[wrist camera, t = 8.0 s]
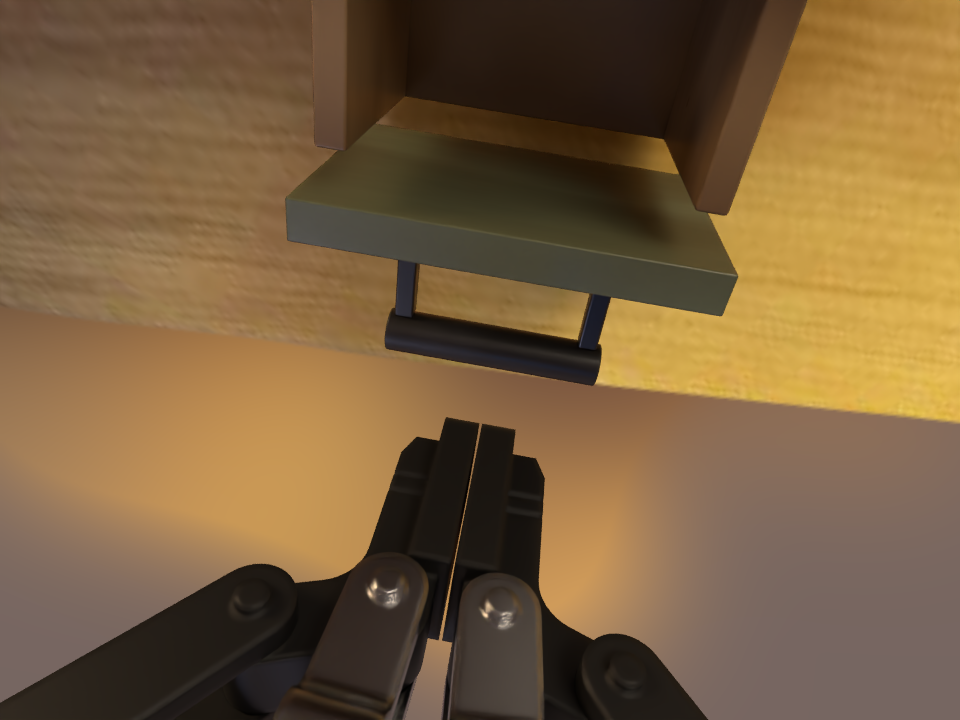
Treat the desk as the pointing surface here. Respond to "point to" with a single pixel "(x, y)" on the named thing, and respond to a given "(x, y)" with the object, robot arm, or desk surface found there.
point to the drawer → (538, 155)
